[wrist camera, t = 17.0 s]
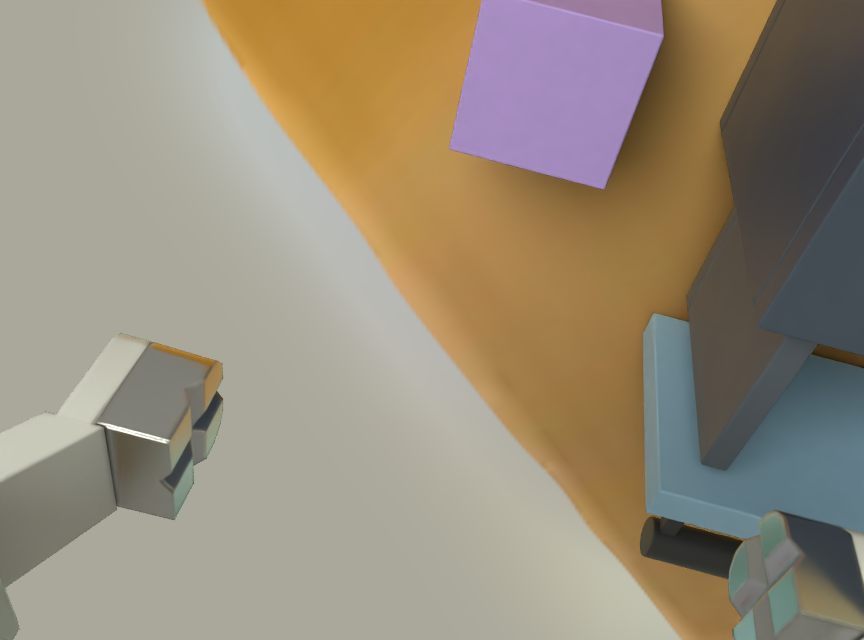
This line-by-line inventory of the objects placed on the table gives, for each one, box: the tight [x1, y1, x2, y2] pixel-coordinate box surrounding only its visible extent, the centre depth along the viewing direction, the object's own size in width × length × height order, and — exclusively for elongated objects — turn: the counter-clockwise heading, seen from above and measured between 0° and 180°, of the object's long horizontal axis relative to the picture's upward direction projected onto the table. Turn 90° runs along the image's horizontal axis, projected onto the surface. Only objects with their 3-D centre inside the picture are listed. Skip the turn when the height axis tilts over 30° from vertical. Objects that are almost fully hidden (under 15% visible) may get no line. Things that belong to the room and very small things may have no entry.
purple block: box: [449, 0, 664, 189], centre depth 22 cm, size 4×4×5 cm
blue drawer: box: [640, 206, 864, 579], centre depth 25 cm, size 19×11×8 cm, turn 170°
